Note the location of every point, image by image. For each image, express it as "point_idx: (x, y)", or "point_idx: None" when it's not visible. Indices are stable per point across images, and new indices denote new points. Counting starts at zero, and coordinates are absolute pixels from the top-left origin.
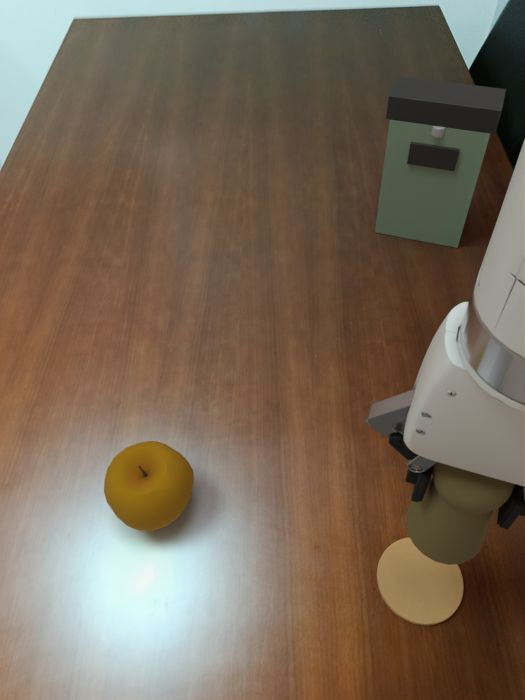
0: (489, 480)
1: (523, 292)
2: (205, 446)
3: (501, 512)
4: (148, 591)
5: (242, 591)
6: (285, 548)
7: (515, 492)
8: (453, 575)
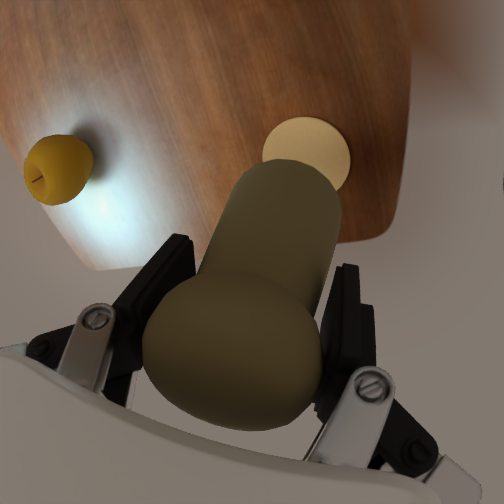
0: (241, 428)
1: None
2: (88, 92)
3: (321, 333)
4: (109, 213)
5: (161, 199)
6: (178, 156)
7: (317, 394)
8: (340, 151)
